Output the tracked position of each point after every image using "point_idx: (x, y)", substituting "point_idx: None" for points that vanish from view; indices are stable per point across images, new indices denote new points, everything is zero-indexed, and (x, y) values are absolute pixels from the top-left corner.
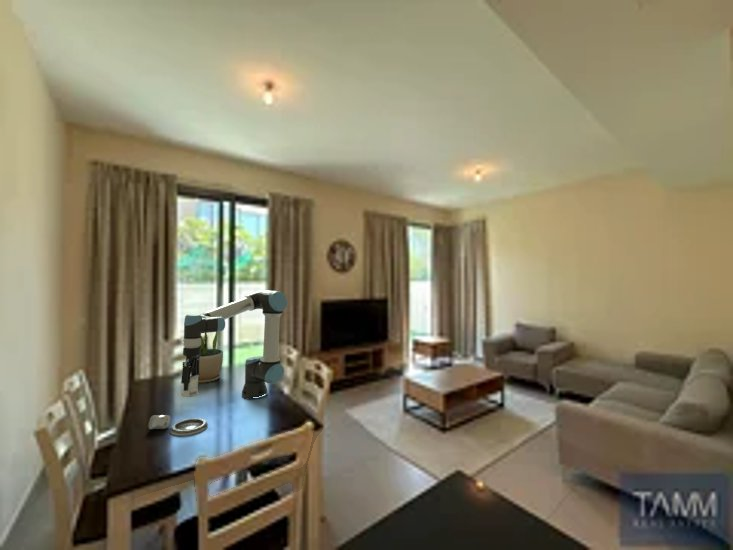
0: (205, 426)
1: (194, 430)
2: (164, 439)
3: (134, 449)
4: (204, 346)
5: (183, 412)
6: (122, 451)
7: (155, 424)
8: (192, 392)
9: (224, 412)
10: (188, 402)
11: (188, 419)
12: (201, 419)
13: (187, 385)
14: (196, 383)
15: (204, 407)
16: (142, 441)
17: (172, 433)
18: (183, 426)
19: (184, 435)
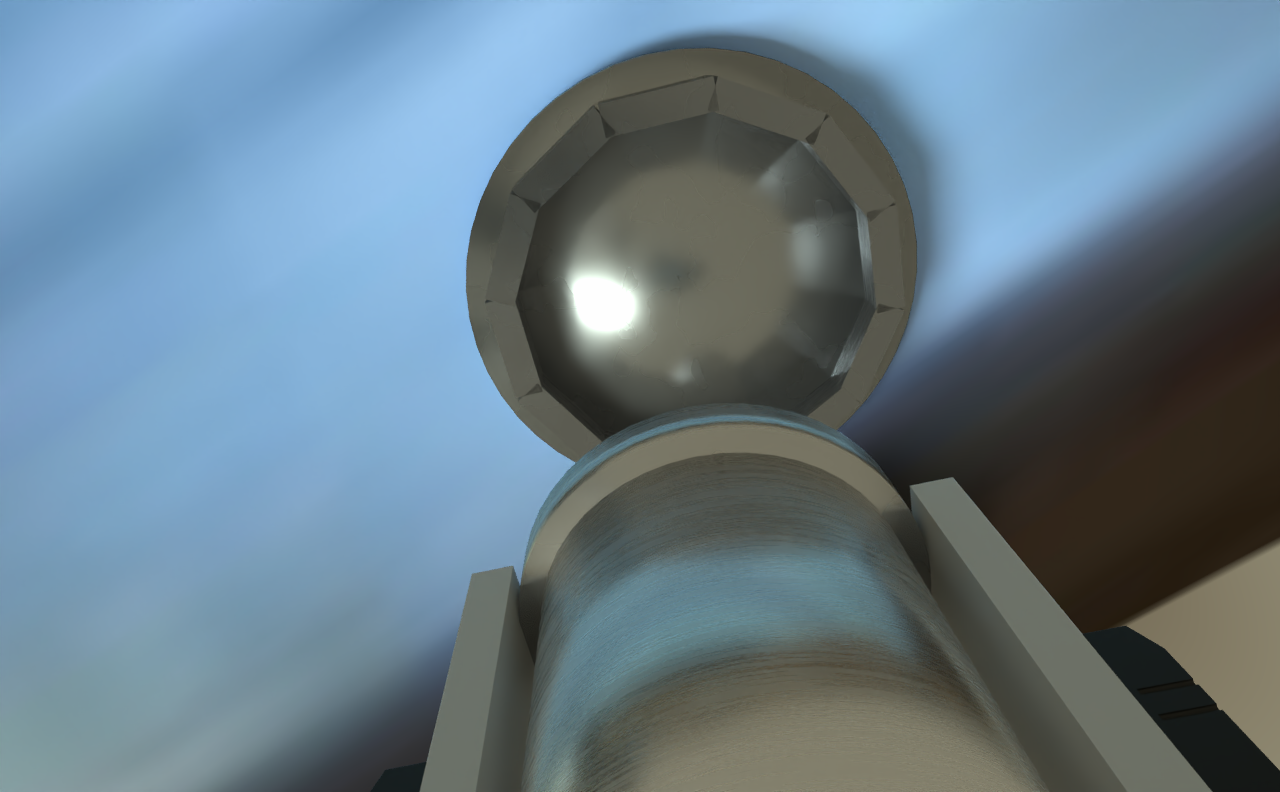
0: (645, 72)
1: (835, 127)
2: (989, 371)
3: (1191, 492)
4: None
5: (298, 629)
6: (1217, 556)
7: None
8: (872, 514)
9: (42, 118)
10: (24, 754)
11: (560, 409)
12: (516, 238)
13: (1233, 773)
14: (820, 665)
15: (46, 506)
16: (1031, 537)
17: (884, 370)
18: (698, 367)
19: (905, 207)
